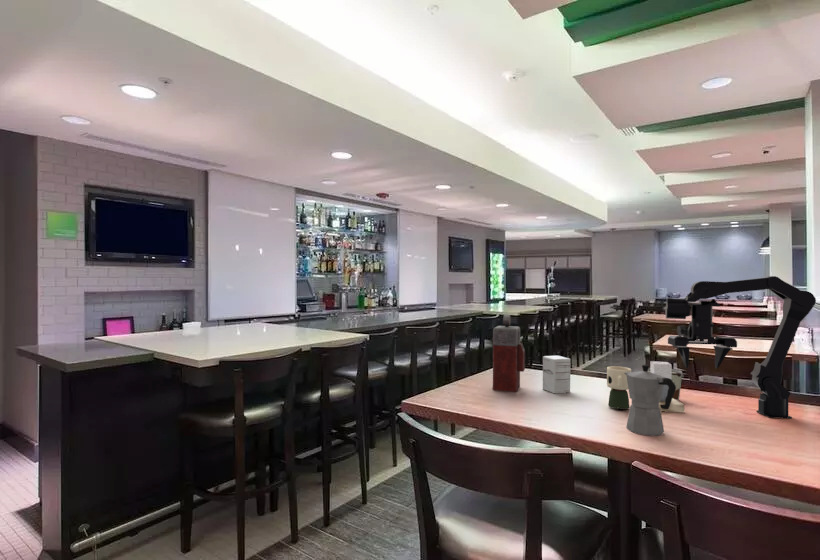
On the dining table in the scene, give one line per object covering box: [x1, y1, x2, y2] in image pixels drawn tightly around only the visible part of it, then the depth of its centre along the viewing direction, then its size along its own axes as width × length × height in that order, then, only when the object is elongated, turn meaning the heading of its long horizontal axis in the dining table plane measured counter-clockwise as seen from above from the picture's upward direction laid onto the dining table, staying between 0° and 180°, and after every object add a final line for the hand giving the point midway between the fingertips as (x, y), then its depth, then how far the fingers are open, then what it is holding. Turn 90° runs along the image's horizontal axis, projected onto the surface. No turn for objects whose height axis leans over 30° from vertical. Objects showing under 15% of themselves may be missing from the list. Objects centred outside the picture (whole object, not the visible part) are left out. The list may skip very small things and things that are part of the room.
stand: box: [659, 398, 685, 413], centre depth 149 cm, size 10×10×2 cm
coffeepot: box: [625, 364, 676, 437], centre depth 124 cm, size 15×9×18 cm, turn 24°
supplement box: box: [542, 355, 572, 394], centre depth 171 cm, size 7×7×13 cm
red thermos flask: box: [492, 314, 526, 393], centre depth 173 cm, size 9×11×28 cm
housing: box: [649, 360, 673, 402], centre depth 149 cm, size 5×5×12 cm
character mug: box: [606, 365, 632, 411], centre depth 147 cm, size 11×7×13 cm, turn 159°
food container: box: [648, 367, 685, 401], centre depth 162 cm, size 12×6×10 cm, turn 84°
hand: (701, 368), depth 148 cm, fingers open, 9 cm apart
